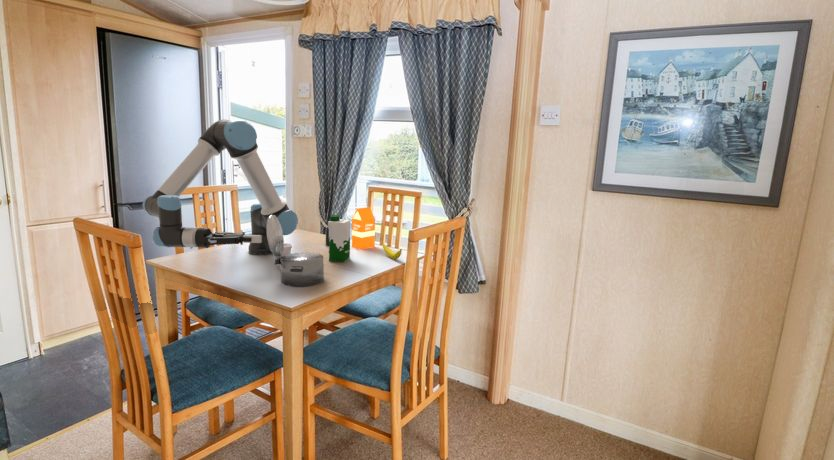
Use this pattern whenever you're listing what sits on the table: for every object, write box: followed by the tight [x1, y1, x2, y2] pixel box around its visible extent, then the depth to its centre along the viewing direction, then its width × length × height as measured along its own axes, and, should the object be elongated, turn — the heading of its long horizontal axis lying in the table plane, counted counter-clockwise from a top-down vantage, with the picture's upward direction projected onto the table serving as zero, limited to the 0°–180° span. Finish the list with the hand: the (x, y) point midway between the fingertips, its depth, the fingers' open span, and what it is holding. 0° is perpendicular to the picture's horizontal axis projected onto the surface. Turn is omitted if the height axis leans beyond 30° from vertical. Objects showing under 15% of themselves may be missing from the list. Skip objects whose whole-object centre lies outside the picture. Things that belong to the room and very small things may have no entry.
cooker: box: [274, 251, 325, 288], centre depth 175 cm, size 18×21×9 cm
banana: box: [381, 242, 403, 260], centre depth 210 cm, size 3×19×6 cm, turn 30°
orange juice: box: [351, 206, 376, 250], centre depth 228 cm, size 8×9×20 cm
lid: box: [266, 215, 285, 258], centre depth 172 cm, size 16×16×2 cm
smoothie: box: [279, 243, 293, 269], centre depth 190 cm, size 6×6×14 cm
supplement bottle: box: [325, 226, 329, 247], centre depth 231 cm, size 7×7×12 cm
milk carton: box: [327, 214, 351, 263], centre depth 203 cm, size 9×9×20 cm
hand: (261, 239), depth 172 cm, fingers closed
